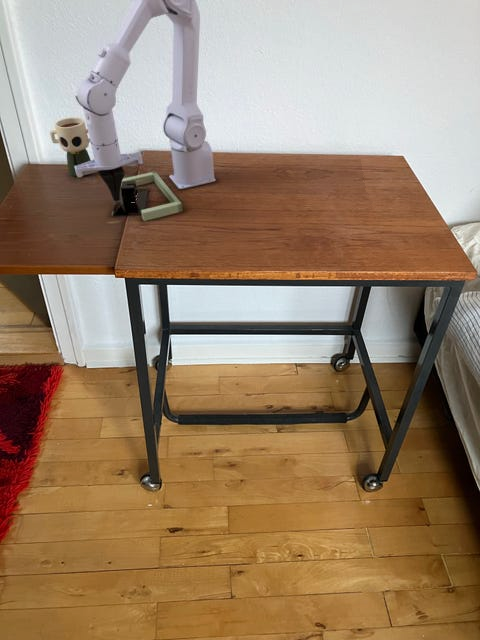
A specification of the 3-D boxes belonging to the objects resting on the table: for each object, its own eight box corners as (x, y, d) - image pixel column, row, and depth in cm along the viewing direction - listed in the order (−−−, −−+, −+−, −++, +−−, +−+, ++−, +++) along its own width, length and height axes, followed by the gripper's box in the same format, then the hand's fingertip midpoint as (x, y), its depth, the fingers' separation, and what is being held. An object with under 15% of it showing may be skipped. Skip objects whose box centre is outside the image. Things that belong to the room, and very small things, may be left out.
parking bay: (156, 178, 134) (155, 171, 132) (182, 211, 120) (181, 203, 119) (121, 186, 131) (119, 179, 130) (144, 221, 118) (142, 213, 116)
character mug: (57, 179, 135) (43, 128, 127) (64, 167, 141) (51, 117, 133) (99, 178, 135) (88, 126, 127) (105, 166, 141) (94, 116, 132)
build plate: (144, 215, 120) (140, 196, 117) (111, 217, 120) (107, 198, 117) (148, 189, 129) (145, 171, 126) (118, 191, 129) (114, 173, 126)
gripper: (132, 128, 118) (141, 185, 127) (66, 141, 114) (80, 198, 123) (141, 138, 113) (150, 197, 122) (73, 152, 109) (87, 212, 118)
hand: (116, 199), depth 122 cm, fingers closed
